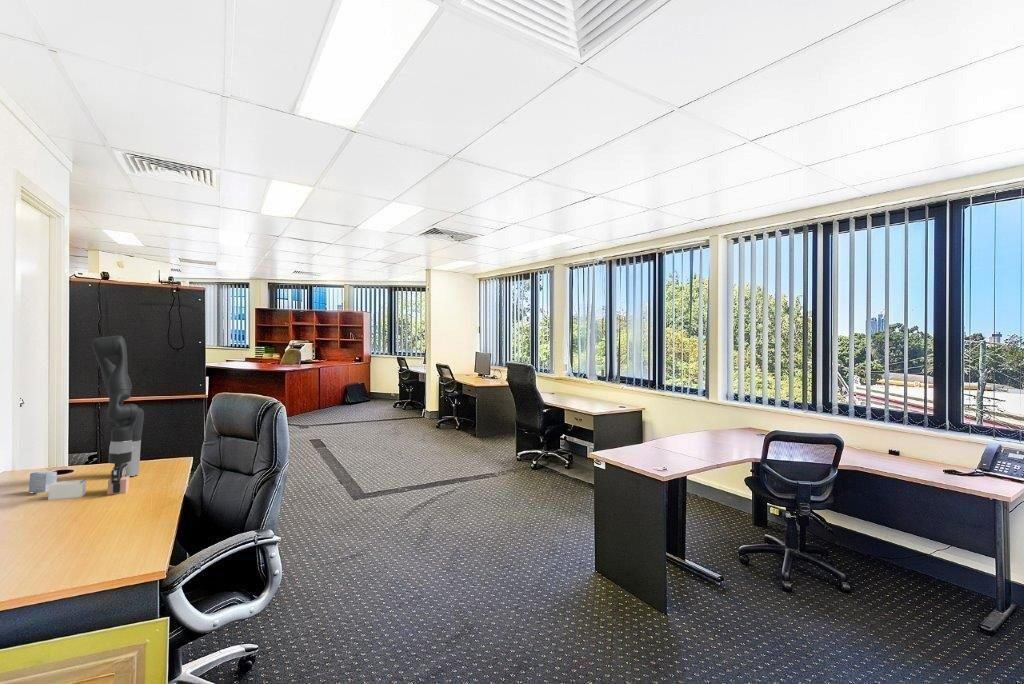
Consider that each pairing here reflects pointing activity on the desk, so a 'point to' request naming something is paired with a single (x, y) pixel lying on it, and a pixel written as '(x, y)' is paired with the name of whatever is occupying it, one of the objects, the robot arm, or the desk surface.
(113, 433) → the robot arm
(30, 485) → the medicine box
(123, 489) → the pink cube block
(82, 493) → the ticket block
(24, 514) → the desk surface
